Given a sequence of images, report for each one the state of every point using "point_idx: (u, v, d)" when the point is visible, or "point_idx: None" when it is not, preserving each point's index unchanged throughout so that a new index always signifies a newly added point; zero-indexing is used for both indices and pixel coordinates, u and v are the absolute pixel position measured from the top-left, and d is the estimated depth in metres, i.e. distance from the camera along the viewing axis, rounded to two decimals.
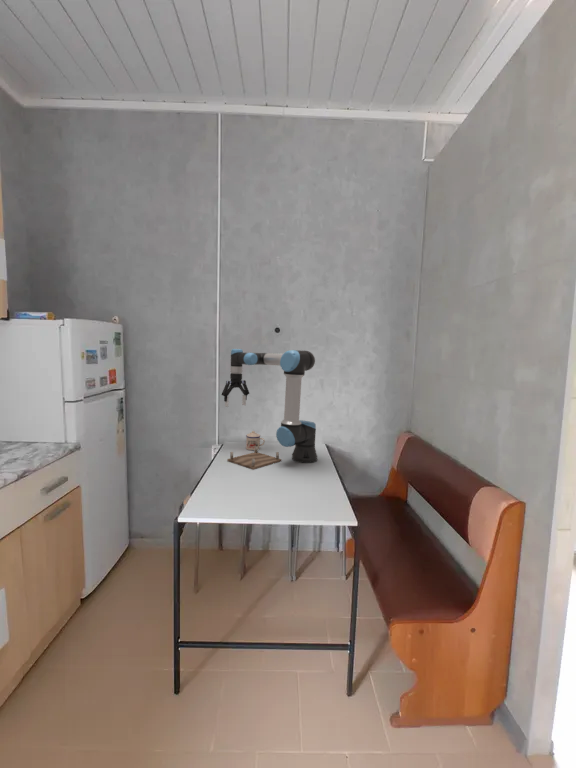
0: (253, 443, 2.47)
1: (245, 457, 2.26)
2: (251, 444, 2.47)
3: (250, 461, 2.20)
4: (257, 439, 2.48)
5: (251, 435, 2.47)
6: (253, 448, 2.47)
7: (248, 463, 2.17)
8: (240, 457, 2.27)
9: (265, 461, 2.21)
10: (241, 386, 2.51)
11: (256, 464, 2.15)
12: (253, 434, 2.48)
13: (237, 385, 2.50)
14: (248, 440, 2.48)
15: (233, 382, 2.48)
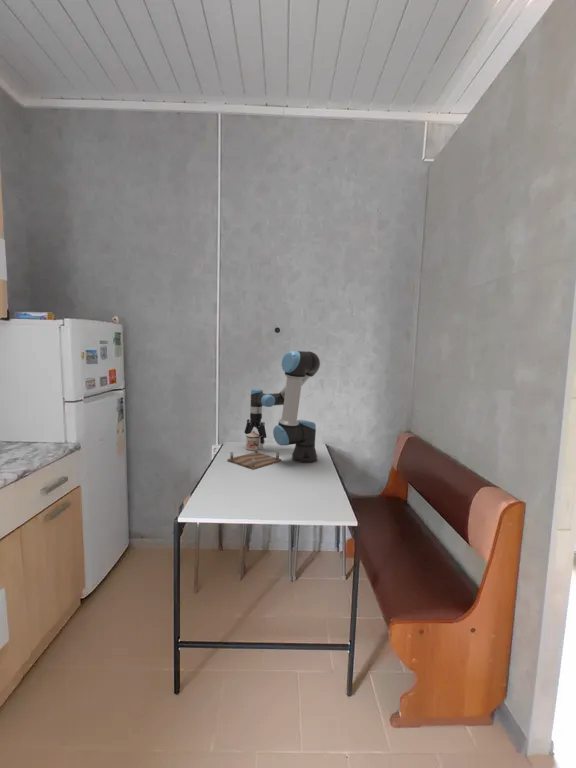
0: (253, 443, 2.47)
1: (245, 457, 2.26)
2: (251, 444, 2.47)
3: (250, 461, 2.20)
4: (257, 439, 2.48)
5: (251, 435, 2.47)
6: (253, 448, 2.47)
7: (248, 463, 2.17)
8: (240, 457, 2.27)
9: (265, 461, 2.21)
10: (256, 427, 2.47)
11: (256, 464, 2.15)
12: (253, 434, 2.48)
13: (254, 425, 2.49)
14: (248, 440, 2.48)
15: (251, 421, 2.51)
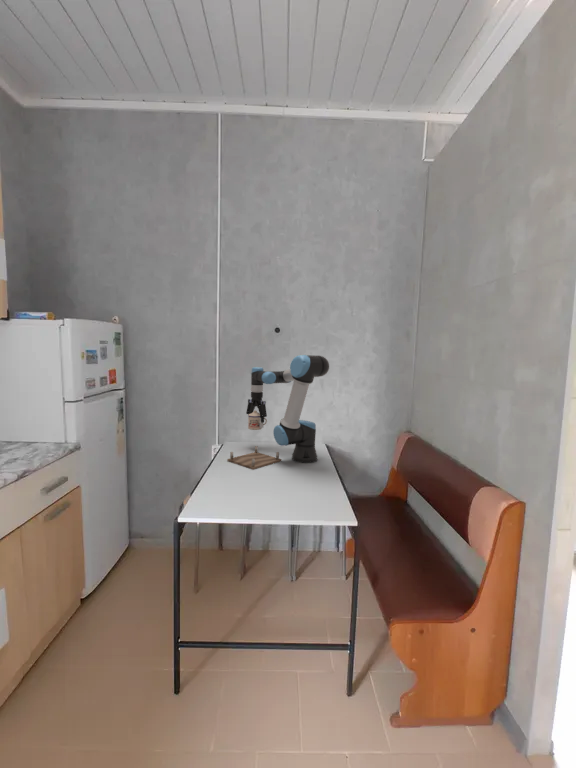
0: (255, 422, 2.45)
1: (245, 457, 2.26)
2: (253, 423, 2.45)
3: (250, 461, 2.20)
4: (259, 418, 2.46)
5: (253, 414, 2.45)
6: (255, 427, 2.45)
7: (248, 463, 2.17)
8: (240, 457, 2.27)
9: (265, 461, 2.21)
10: (257, 406, 2.46)
11: (256, 464, 2.15)
12: (255, 413, 2.46)
13: (255, 404, 2.48)
14: (250, 419, 2.46)
15: (252, 400, 2.49)
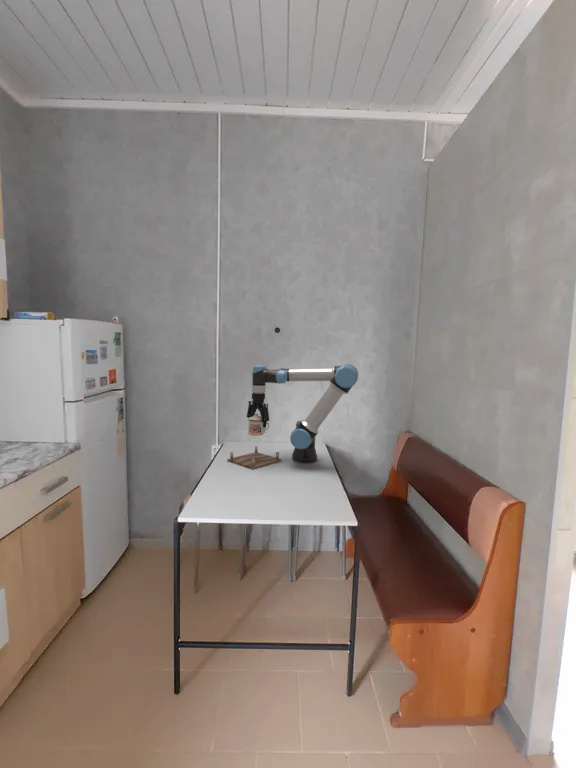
0: (256, 427, 2.18)
1: (245, 457, 2.26)
2: (254, 428, 2.18)
3: (250, 461, 2.20)
4: None
5: (254, 418, 2.19)
6: (256, 433, 2.18)
7: (248, 463, 2.17)
8: (240, 457, 2.27)
9: (265, 461, 2.21)
10: (258, 409, 2.19)
11: (256, 464, 2.15)
12: (256, 417, 2.19)
13: (257, 406, 2.21)
14: (250, 424, 2.19)
15: (253, 402, 2.23)
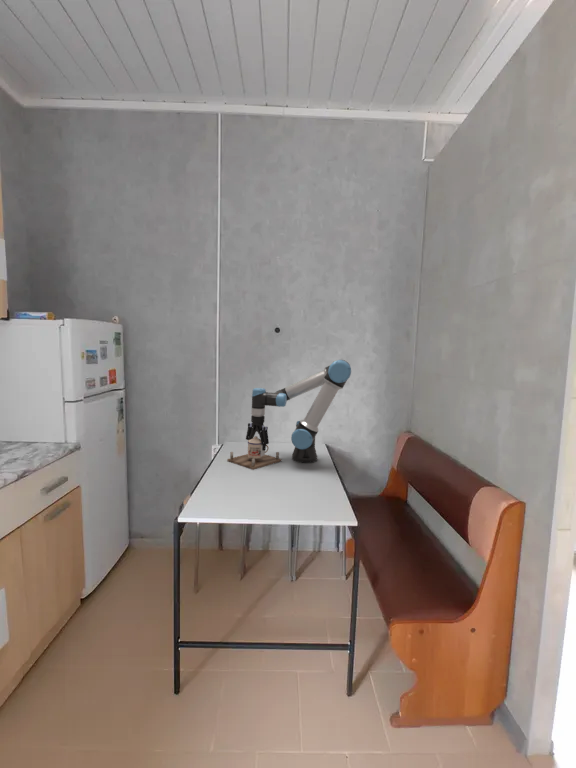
0: (256, 450, 2.18)
1: (245, 457, 2.26)
2: (253, 451, 2.18)
3: (250, 461, 2.20)
4: (260, 446, 2.19)
5: (253, 441, 2.19)
6: (255, 456, 2.19)
7: (248, 463, 2.17)
8: (240, 457, 2.27)
9: (265, 461, 2.21)
10: (258, 432, 2.19)
11: (256, 464, 2.15)
12: (255, 440, 2.20)
13: (256, 429, 2.21)
14: (250, 447, 2.19)
15: (252, 424, 2.23)
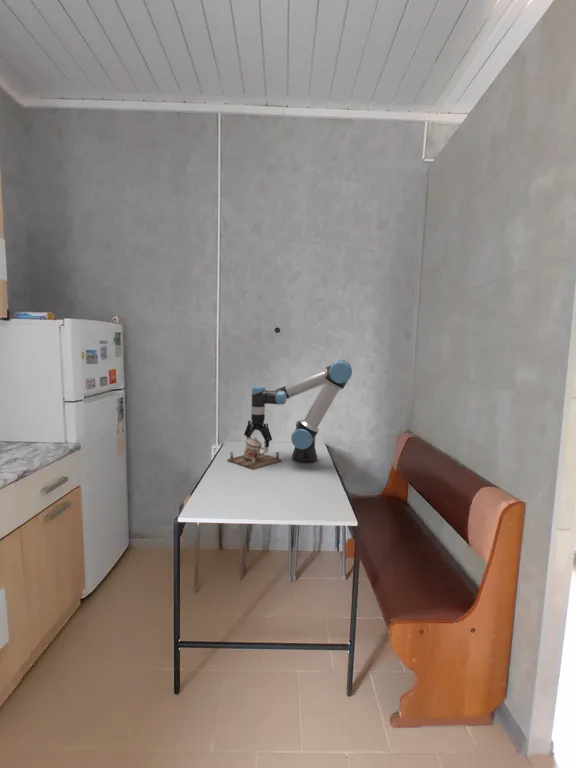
0: (253, 452, 2.20)
1: None
2: (250, 453, 2.20)
3: (250, 461, 2.20)
4: (258, 449, 2.21)
5: (252, 443, 2.20)
6: (251, 457, 2.21)
7: (248, 463, 2.17)
8: (240, 457, 2.27)
9: (265, 461, 2.21)
10: (259, 429, 2.19)
11: (256, 464, 2.15)
12: (254, 442, 2.21)
13: (256, 427, 2.21)
14: (247, 448, 2.21)
15: (253, 423, 2.23)
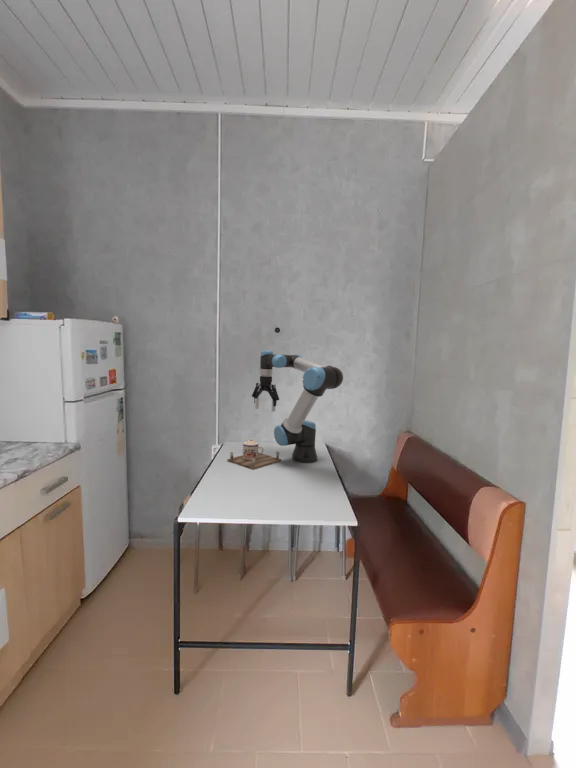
0: (251, 452, 2.21)
1: None
2: (248, 453, 2.21)
3: (250, 461, 2.20)
4: (255, 448, 2.22)
5: (248, 443, 2.22)
6: (251, 458, 2.21)
7: (248, 463, 2.17)
8: (240, 457, 2.27)
9: (265, 461, 2.21)
10: (267, 390, 2.36)
11: (256, 464, 2.15)
12: (250, 442, 2.22)
13: (264, 388, 2.38)
14: (245, 449, 2.22)
15: (261, 385, 2.40)
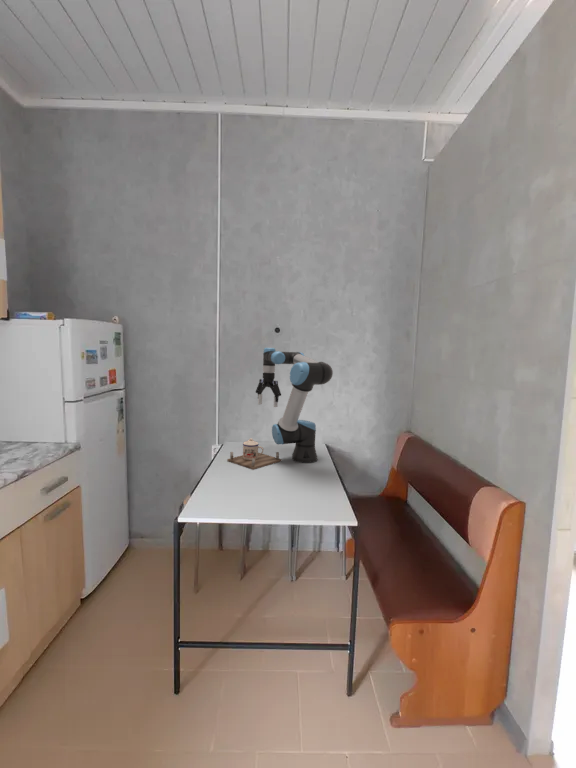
0: (251, 452, 2.21)
1: None
2: (248, 453, 2.21)
3: (250, 461, 2.20)
4: (255, 448, 2.22)
5: (248, 443, 2.22)
6: (251, 458, 2.21)
7: (248, 463, 2.17)
8: (240, 457, 2.27)
9: (265, 461, 2.21)
10: (270, 386, 2.43)
11: (256, 464, 2.15)
12: (251, 442, 2.22)
13: (267, 384, 2.46)
14: (245, 449, 2.22)
15: (264, 381, 2.47)
